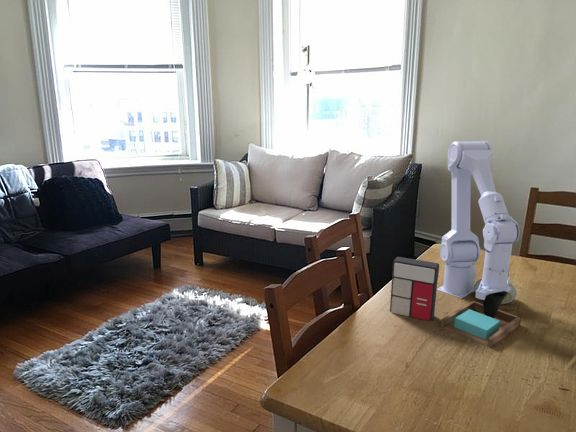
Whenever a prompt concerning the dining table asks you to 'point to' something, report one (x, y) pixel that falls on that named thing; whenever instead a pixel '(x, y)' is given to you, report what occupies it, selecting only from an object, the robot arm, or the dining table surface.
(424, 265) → the calculator
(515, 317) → the walnut box
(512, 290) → the air freshener
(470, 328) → the cover plate
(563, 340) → the dining table surface
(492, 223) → the robot arm
